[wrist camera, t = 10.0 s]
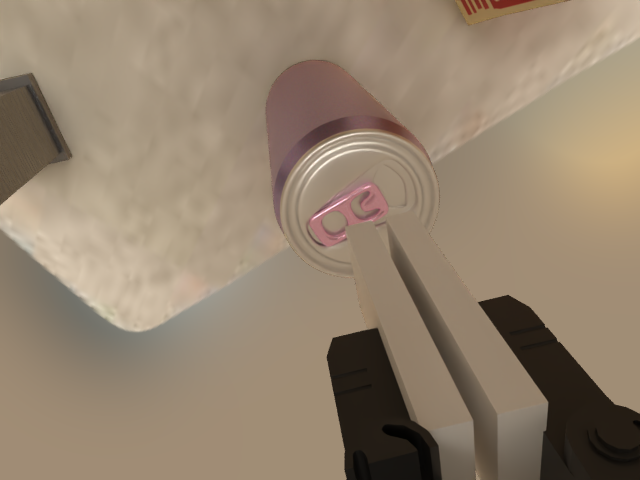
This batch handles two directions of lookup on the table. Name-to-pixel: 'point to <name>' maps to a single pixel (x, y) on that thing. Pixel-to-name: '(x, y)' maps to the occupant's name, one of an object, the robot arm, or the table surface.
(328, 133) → the beverage can
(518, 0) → the milk carton
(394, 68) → the table surface
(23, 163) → the stile
